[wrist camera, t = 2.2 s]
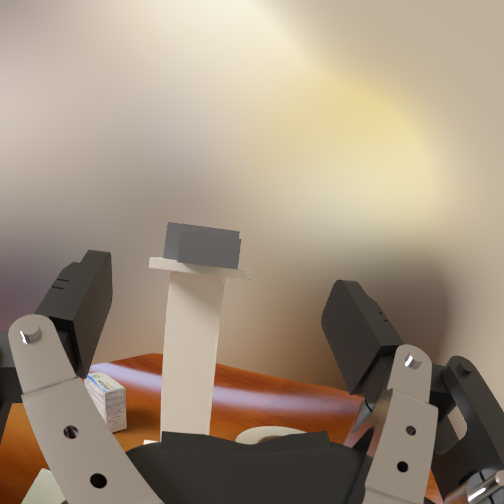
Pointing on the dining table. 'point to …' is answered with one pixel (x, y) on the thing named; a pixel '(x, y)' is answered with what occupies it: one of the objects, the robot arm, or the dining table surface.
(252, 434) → the roll of tape
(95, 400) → the medicine box
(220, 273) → the white flanged bar
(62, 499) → the mat
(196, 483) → the robot arm
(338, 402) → the dining table surface
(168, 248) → the gray flanged block
